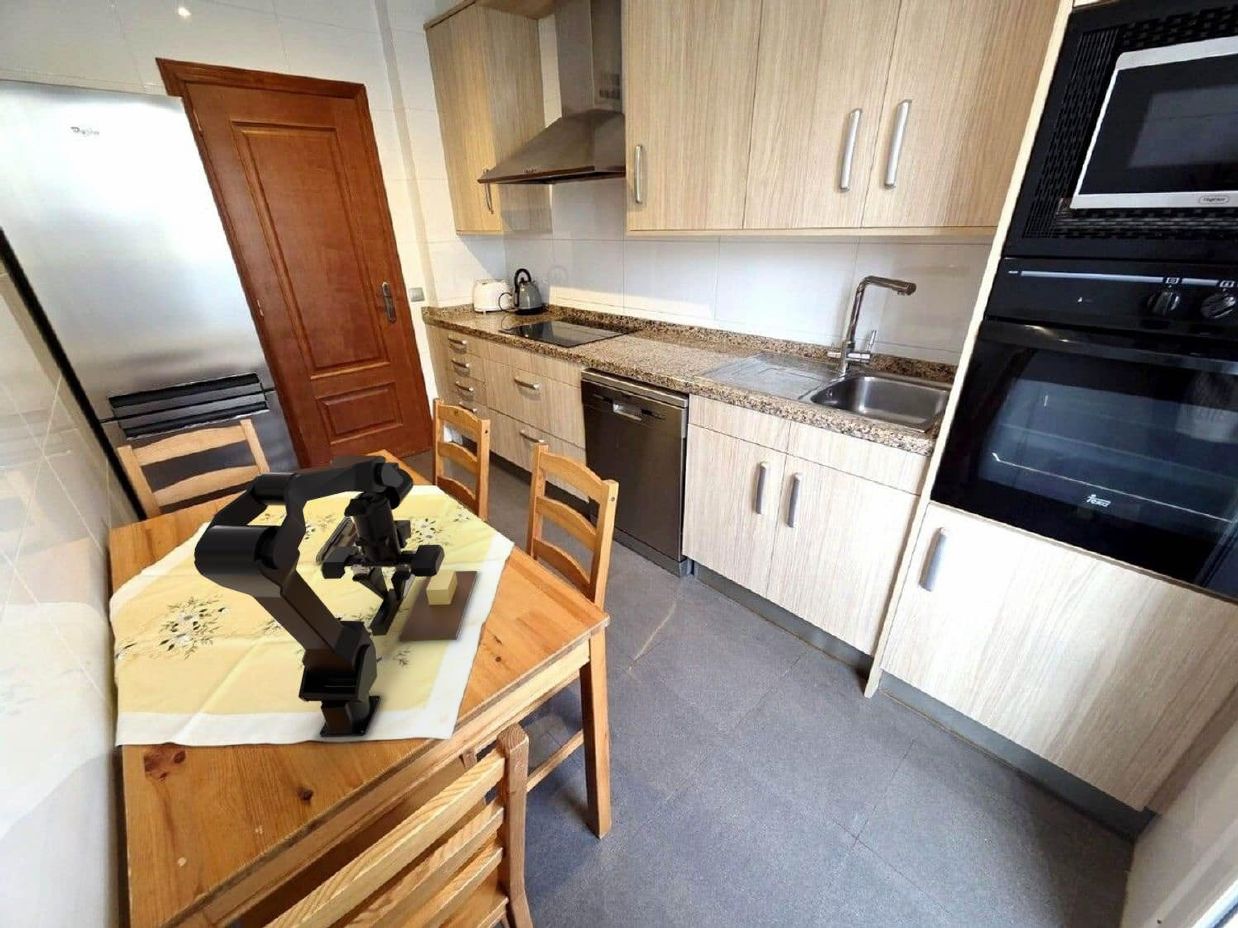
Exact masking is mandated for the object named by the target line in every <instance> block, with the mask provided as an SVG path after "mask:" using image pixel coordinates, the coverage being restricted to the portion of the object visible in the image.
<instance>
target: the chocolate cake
mask: <svg viewBox="0 0 1238 928" xmlns="http://www.w3.org/2000/svg"><path fill="white" fill-rule="evenodd" d="M357 537H358V534H357V531H356V527H355V523H354V520H353V518H352V517H351V516H344V517H343V518H342V520H341V521H340V522H339V523H338V525H336V527H335V529H334V531H333V532H332V533H331V535H330V536H329V537H328V538H327V540H326V541H325V543H324V545H323V546H322V547H321V548H319V550H318V552H317V554H316V555H315V559H314V560H315V562H316V563H317V564H318V563H320V562H321V563H323V561H324V560H325V559H326V557H327V556H328V555H329V554H330V552H331V551H332V550H333V549H334V548H335V547H341V546H356V544H355V540H356V539H357ZM356 547H358V548H359V551H360V553H359V554H358V555H361V554H363V553H362V551H361V550H362V549H361V546H356Z"/></svg>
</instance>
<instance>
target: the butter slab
mask: <svg viewBox="0 0 1238 928" xmlns="http://www.w3.org/2000/svg"><path fill="white" fill-rule="evenodd" d="M455 571H456V569H455V568H452V569H449V568H448V569H439V571H438V573H437V575H435V576H433V577H432V578H431V580H430V582H429V584H428V587H427V589H426V592H427V595H429V594H448V593H449V591H450V588H451V585H452V583H453V580H454V577H455V575H456V572H455Z"/></svg>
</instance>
